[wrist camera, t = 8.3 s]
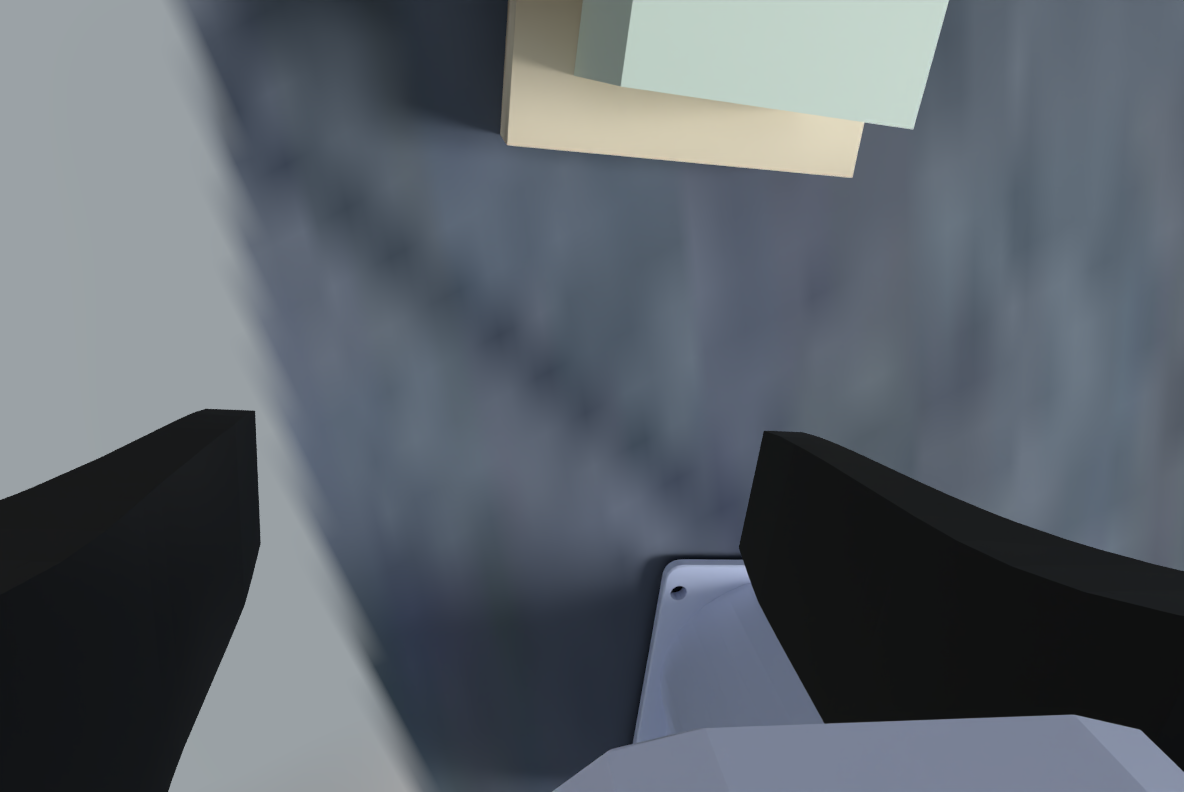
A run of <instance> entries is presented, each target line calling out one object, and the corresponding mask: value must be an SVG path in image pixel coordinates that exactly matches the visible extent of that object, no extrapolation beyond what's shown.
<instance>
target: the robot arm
mask: <svg viewBox="0 0 1184 792" xmlns="http://www.w3.org/2000/svg"><path fill="white" fill-rule="evenodd" d="M255 425H256V424H255V411H246V410H245V411H244V410H221V409H204V410H201V411H197V412H195V413H192V414H190V415H187V416H185V417H183V418H181V419H179V420H177V421H174V422H172V423H170V424H168V425H166V426H164V427H162V428H160V429H158V430H156V431H154V432H152V433H150V434H148V435H146V436H144V437H142V438H140V439H138V440H135V441H133V442H131V443H129V444H127V445H125V446H123V447H121V448H119V449H117V450H115V451H113V452H111V453H109V454H107V455H105V456H103V457H101V458H99V459H96V460H94V461H92V462H90V463H87V464H85V465H83V466H80V467H78V468H76V469H74V470H71V471H69V472H67V473H64V474H62V475H60V476H58V477H55V478H53V479H51V480H49V481H46V482H44V483H42V484H39V485H37V486H35V487H33V488H30V489H28V490H25V491H23V492H20V493H18V494H15V495H13V496H10V497H7V498H5V499H2V500H0V792H168V790H169V787H170V784H171V781H172V778H173V775H174V773H175V770H176V767H177V765H178V762H179V759H180V757H181V754H182V751H183V749H184V746H185V744H186V742H187V739H188V737H189V735H190V732H191V730H192V727H193V725H194V723H195V721H196V718H197V716H198V714H199V711H200V709H201V707H202V704H203V702H204V700H205V697H206V695H207V693H208V690H209V688H210V686H211V683H212V681H213V679H214V676H215V674H216V672H217V669H218V667H219V665H220V662H221V660H222V658H223V655H224V653H225V651H226V648H227V646H228V644H229V641H230V639H231V636H232V634H233V632H234V629H235V627H236V624H237V622H238V620H239V617H240V615H241V612H242V610H243V608H244V605H245V602H246V598H247V594H248V591H249V587H250V583H251V579H252V575H253V572H254V568H255V563H256V560H257V556H258V551H259V547H260V519H259V496H258V472H257V448H256V426H255ZM739 550H740V553H741V556H742V559H743V560H706V559H680V560H674V561H672V562H671V563H669V564H668V565H667V566H666V567H665V569H664V571H663V575H662V580H661V586H660V592H659V597H658V603H657V609H656V614H655V620H654V626H653V631H652V637H651V643H650V648H649V654H648V660H647V665H646V671H645V677H644V682H643V688H642V694H641V699H640V705H639V711H638V716H637V722H636V728H635V733H634V739H633V744H630V745H626V746H622V747H617V748H613V749H610V750H609V751H607V752H606V753H604V754H603V755H602V756H600V757H599V758H598V759H596V760H595V761H594V762H592V763H591V764H589V765H588V766H587V767H585V768H584V769H583V770H581V771H580V772H578V773H577V774H576V775H574V776H573V777H572V778H570V779H569V780H567V781H566V782H565V783H563V784H562V785H561V786H559V787H558V788H556V789H555V790H554V791H552V792H1184V571H1180V570H1176V569H1172V568H1167V567H1163V566H1159V565H1155V564H1151V563H1147V562H1144V561H1140V560H1136V559H1133V558H1129V557H1125V556H1121V555H1118V554H1114V553H1110V552H1107V551H1103V550H1099V549H1096V548H1093V547H1089V546H1086V545H1083V544H1079V543H1076V542H1073V541H1070V540H1066V539H1063V538H1060V537H1058V536H1055V535H1052V534H1049V533H1046V532H1043V531H1040V530H1037V529H1034V528H1031V527H1028V526H1026V525H1023V524H1020V523H1017V522H1014V521H1011V520H1009V519H1006V518H1003V517H1001V516H998V515H996V514H993V513H991V512H988V511H986V510H983V509H981V508H978V507H976V506H974V505H971V504H969V503H966V502H964V501H962V500H959V499H957V498H954V497H952V496H950V495H947V494H945V493H943V492H941V491H938V490H936V489H934V488H932V487H929V486H927V485H925V484H923V483H921V482H918V481H916V480H914V479H912V478H910V477H908V476H905V475H903V474H901V473H899V472H897V471H895V470H892V469H890V468H888V467H886V466H884V465H882V464H880V463H878V462H875V461H873V460H871V459H869V458H867V457H865V456H862V455H860V454H858V453H856V452H854V451H851V450H849V449H847V448H845V447H842V446H840V445H838V444H835V443H833V442H830V441H828V440H825V439H823V438H820V437H817V436H814V435H810V434H807V433H803V432H781V431H764V433H763V438H762V442H761V447H760V452H759V456H758V461H757V466H756V470H755V475H754V480H753V484H752V489H751V494H750V498H749V503H748V508H747V512H746V517H745V522H744V526H743V531H742V536H741V540H740V545H739ZM677 586H683V588H682V589H681V590H680V591H678V592H671V591H672V589H673V588H675V587H677Z"/></svg>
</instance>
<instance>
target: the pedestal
mask: <svg viewBox="0 0 1184 792" xmlns="http://www.w3.org/2000/svg"><path fill="white" fill-rule="evenodd" d="M582 3H583V0H508V12H507V29H506V45H505V62H504V78H503V95H502V112H501V128H500V135H501V137H502V138H503V140H504V141H505V143H506V144H507V145H511V146H521V147H532V148H542V149H553V150H563V151H574V152H585V153H595V154H606V155H616V156H627V157H637V158H648V159H659V160H669V161H680V162H690V163H701V164H712V165H722V166H733V167H743V168H754V169H764V170H775V171H786V172H796V173H807V174H817V175H828V176H838V177H849V178H852V176H853V172H854V167H855V163H856V158H857V153H858V149H859V144H860V140H861V135H862V131H863V126H864V122H859V121H852V120H845V119H839V118H832V117H825V116H818V115H811V114H805V113H798V112H791V111H784V110H777V109H770V108H764V107H757V106H750V105H743V104H736V103H730V102H723V101H716V100H709V99H702V98H695V97H689V96H682V95H675V94H668V93H661V92H654V91H648V90H641V89H634V88H627V87H620V86H616V85H612V84H608V83H603V82H599V81H595V80H591V79H586V78H582V77H578V76H574V69H575V61H576V52H577V44H578V36H579V28H580V20H581V11H582Z"/></svg>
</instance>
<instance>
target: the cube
mask: <svg viewBox="0 0 1184 792" xmlns="http://www.w3.org/2000/svg"><path fill="white" fill-rule="evenodd" d="M948 2H949V0H583V3H582V11H581V20H580V28H579V36H578V44H577V52H576V61H575V69H574V76H578V77H582V78H586V79H591V80H595V81H599V82H603V83H608V84H612V85H616V86H620V87H627V88H634V89H641V90H648V91H654V92H661V93H668V94H675V95H682V96H689V97H695V98H702V99H709V100H716V101H723V102H730V103H736V104H743V105H750V106H757V107H764V108H770V109H777V110H784V111H791V112H798V113H805V114H811V115H818V116H825V117H832V118H839V119H845V120H852V121H859V122H866V123H873V124H880V125H886V126H893V127H900V128H907V129H913V128H914V125H915V121H916V117H917V114H918V110H919V107H920V103H921V99H922V96H923V92H924V88H925V85H926V81H927V78H928V74H929V70H930V67H931V63H932V59H933V56H934V52H935V49H936V45H937V41H938V38H939V34H940V30H941V27H942V23H943V20H944V16H945V12H946V9H947V5H948Z"/></svg>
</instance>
